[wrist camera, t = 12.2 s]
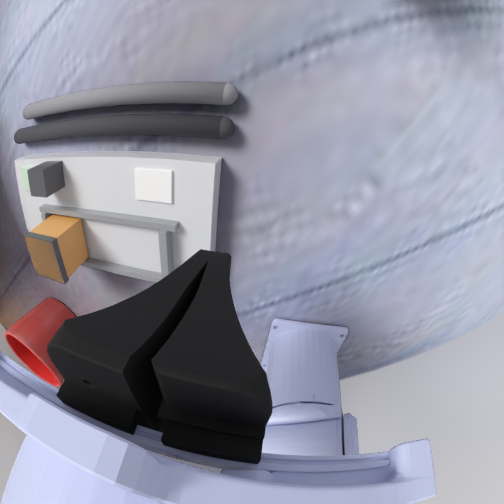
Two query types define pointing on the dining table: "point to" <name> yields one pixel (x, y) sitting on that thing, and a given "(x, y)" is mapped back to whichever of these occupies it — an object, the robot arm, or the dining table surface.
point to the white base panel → (127, 205)
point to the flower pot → (39, 338)
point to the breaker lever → (57, 247)
